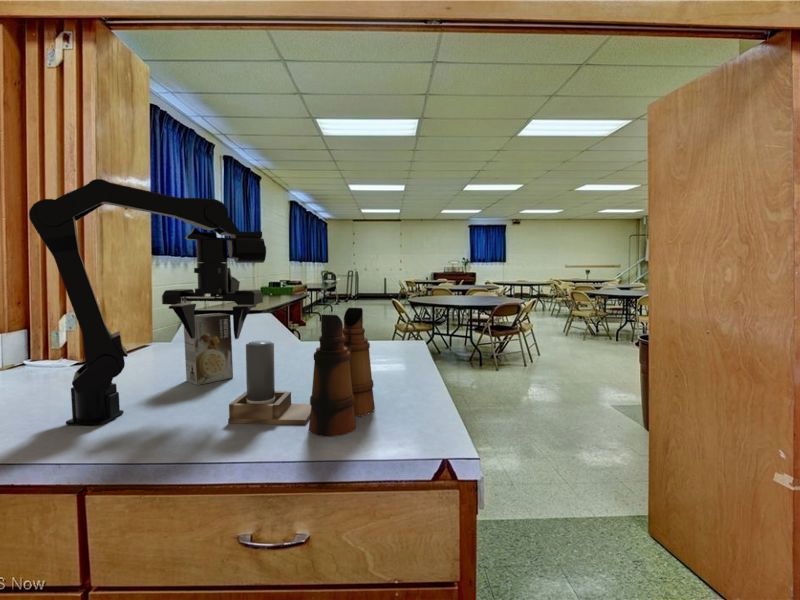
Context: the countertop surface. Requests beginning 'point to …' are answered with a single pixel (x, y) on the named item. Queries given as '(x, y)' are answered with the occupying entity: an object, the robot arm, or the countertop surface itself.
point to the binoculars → (341, 376)
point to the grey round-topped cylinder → (260, 372)
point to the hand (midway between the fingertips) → (214, 338)
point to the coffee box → (209, 349)
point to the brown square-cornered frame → (269, 411)
